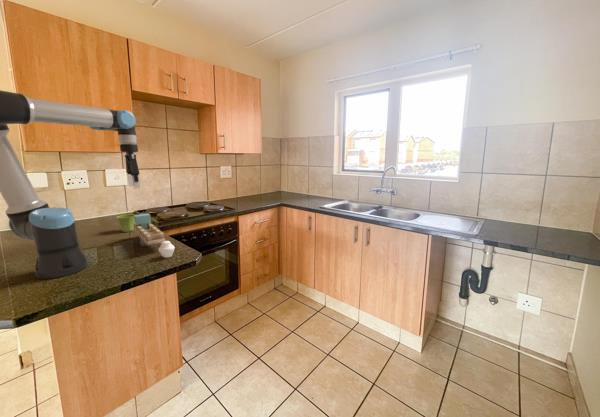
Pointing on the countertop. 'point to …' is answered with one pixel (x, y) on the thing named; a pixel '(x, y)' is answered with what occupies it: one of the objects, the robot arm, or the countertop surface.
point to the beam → (149, 235)
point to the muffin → (166, 249)
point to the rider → (142, 220)
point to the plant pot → (126, 222)
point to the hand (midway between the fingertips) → (134, 187)
